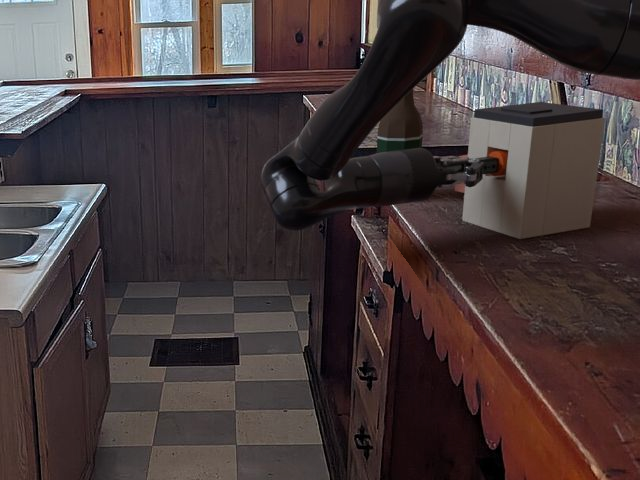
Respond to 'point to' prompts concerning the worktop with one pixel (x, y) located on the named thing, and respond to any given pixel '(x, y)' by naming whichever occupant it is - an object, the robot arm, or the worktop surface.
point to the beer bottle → (400, 127)
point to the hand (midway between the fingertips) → (494, 164)
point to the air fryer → (535, 168)
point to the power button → (500, 162)
